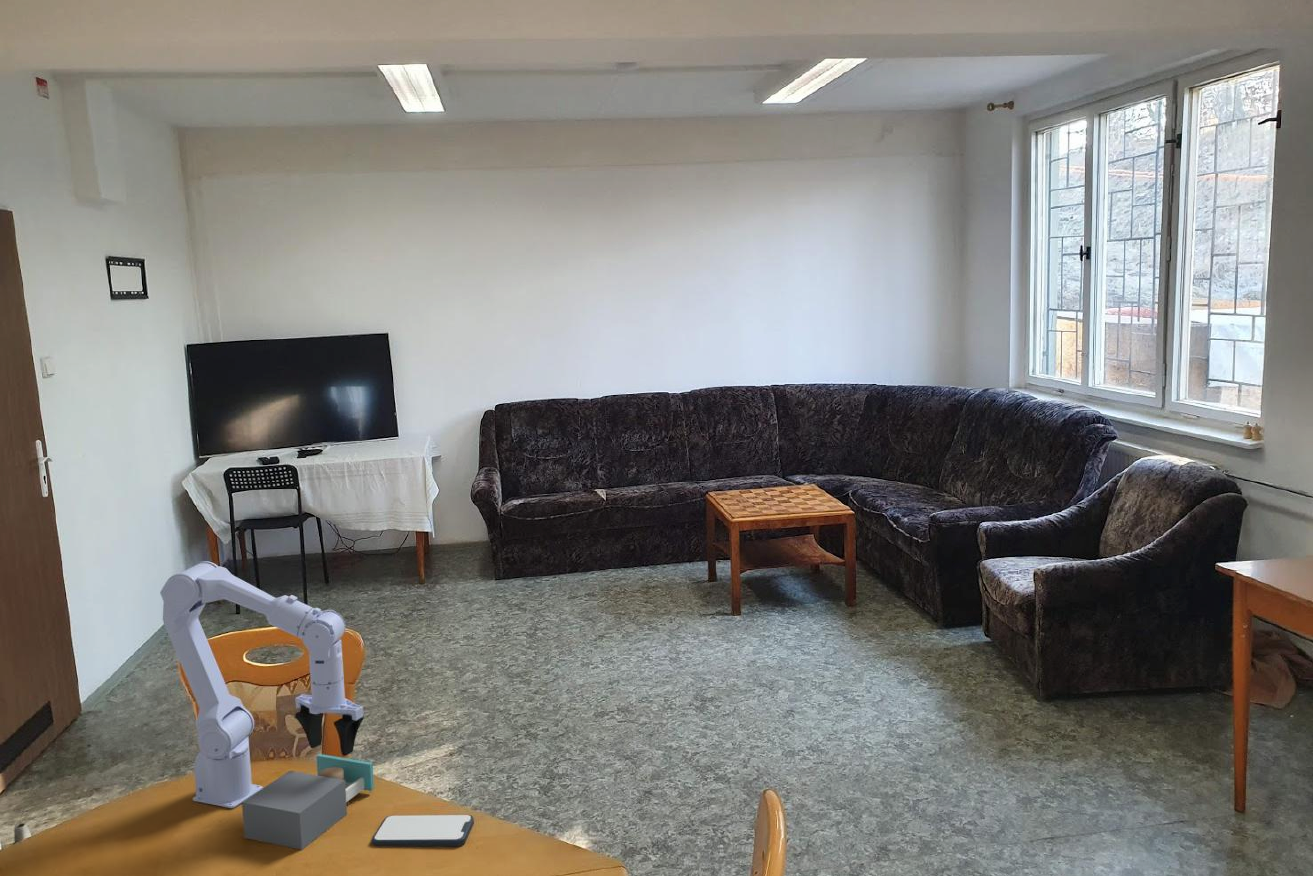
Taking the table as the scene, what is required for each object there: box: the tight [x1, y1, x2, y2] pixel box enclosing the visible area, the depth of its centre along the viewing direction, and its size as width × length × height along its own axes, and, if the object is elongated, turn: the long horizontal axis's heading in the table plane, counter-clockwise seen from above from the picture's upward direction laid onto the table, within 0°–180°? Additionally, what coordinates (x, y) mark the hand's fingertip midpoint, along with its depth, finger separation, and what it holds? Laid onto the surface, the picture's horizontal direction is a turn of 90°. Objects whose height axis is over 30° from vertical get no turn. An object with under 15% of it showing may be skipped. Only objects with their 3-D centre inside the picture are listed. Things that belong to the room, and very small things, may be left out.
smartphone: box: [371, 814, 475, 848], centre depth 167 cm, size 9×2×16 cm
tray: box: [316, 753, 375, 803], centre depth 177 cm, size 12×12×5 cm
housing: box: [241, 770, 348, 851], centre depth 169 cm, size 12×12×6 cm
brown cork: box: [317, 767, 344, 780], centre depth 178 cm, size 4×4×4 cm
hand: (331, 749), depth 178 cm, fingers open, 7 cm apart
